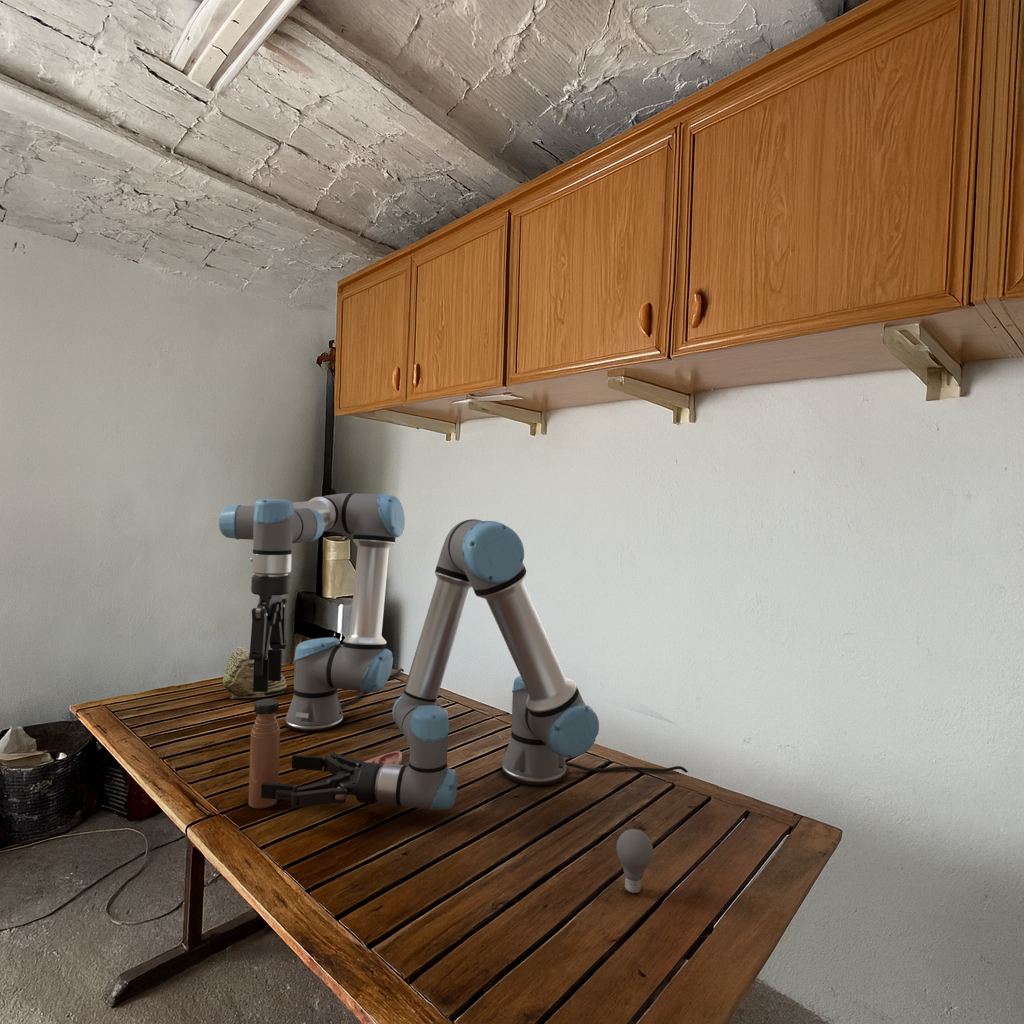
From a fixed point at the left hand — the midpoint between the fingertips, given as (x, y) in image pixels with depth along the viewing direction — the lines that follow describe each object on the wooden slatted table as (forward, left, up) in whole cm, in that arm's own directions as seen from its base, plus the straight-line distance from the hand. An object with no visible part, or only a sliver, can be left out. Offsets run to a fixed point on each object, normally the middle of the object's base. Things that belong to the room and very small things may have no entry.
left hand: (267, 685), depth 130 cm
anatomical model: (-24, +5, -24) cm, 34 cm away
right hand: (-1, +3, -18) cm, 18 cm away
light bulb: (-25, +71, -24) cm, 80 cm away
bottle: (0, 0, -24) cm, 24 cm away
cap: (0, 0, -4) cm, 4 cm away
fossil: (-34, -65, -24) cm, 77 cm away
